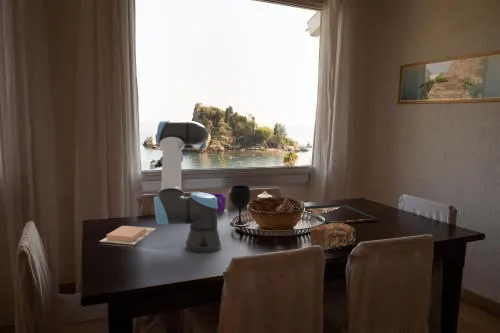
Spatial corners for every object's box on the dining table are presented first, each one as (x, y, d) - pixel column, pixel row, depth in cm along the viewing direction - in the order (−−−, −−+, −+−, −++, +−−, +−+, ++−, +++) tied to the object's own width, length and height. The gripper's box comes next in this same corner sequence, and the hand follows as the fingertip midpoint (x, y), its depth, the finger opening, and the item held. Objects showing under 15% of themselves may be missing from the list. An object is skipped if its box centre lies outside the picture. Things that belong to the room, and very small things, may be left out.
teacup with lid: (274, 212, 227) (274, 193, 226) (259, 213, 225) (260, 193, 223) (267, 207, 239) (268, 189, 237) (253, 208, 236) (254, 189, 235)
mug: (203, 210, 228) (203, 193, 226) (221, 209, 232) (222, 192, 230) (212, 217, 212) (212, 200, 210) (231, 216, 216) (231, 199, 215)
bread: (324, 252, 163) (325, 230, 161) (308, 245, 172) (309, 223, 170) (356, 246, 172) (357, 224, 171) (339, 239, 181) (340, 218, 180)
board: (125, 228, 188) (125, 225, 188) (156, 230, 186) (156, 228, 186) (99, 244, 165) (99, 241, 165) (134, 247, 163) (134, 244, 162)
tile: (122, 225, 180) (106, 234, 167) (146, 227, 179) (132, 236, 165) (122, 230, 181) (106, 239, 167) (146, 232, 179) (132, 242, 165)
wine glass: (226, 225, 198) (227, 187, 195) (234, 220, 207) (235, 184, 205) (244, 228, 194) (245, 189, 191) (252, 223, 204) (253, 186, 201)
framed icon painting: (295, 210, 235) (295, 206, 235) (341, 206, 250) (341, 202, 249) (332, 228, 201) (333, 223, 200) (383, 222, 216) (384, 218, 215)
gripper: (179, 168, 215) (163, 174, 191) (157, 167, 217) (139, 173, 193) (179, 155, 214) (163, 159, 190) (157, 154, 216) (138, 158, 192)
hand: (151, 166), depth 192 cm, fingers closed
